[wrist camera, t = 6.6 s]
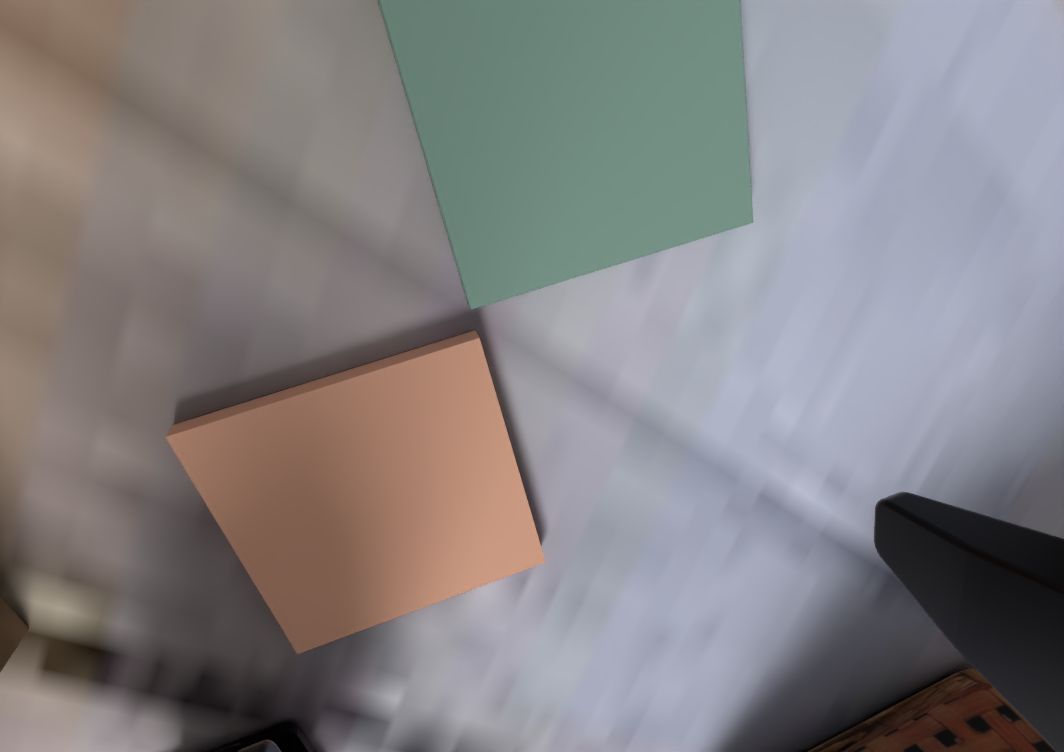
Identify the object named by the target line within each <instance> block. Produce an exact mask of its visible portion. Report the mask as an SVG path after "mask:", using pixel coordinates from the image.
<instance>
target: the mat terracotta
mask: <svg viewBox="0 0 1064 752" xmlns="http://www.w3.org/2000/svg"><path fill="white" fill-rule="evenodd" d="M166 439H167V441H168V442H169V444H170V446H171V447H172V449H173V451H174V452H175V454H176V456H177V457H178V459H179V461H180V462H181V464H182V465H183V467H184V469H185V470H186V472H187V474H188V475H189V477H190V479H191V480H192V482H193V484H194V485H195V487H196V488H197V490H198V492H199V493H200V495H201V497H202V498H203V500H204V502H205V503H206V505H207V507H208V508H209V510H210V512H211V513H212V515H213V516H214V518H215V520H216V521H217V523H218V525H219V526H220V528H221V530H222V531H223V533H224V535H225V536H226V538H227V539H228V541H229V543H230V544H231V546H232V548H233V549H234V551H235V553H236V554H237V556H238V558H239V559H240V561H241V563H242V564H243V566H244V567H245V569H246V571H247V572H248V574H249V576H250V577H251V579H252V581H253V582H254V584H255V586H256V587H257V589H258V590H259V592H260V594H261V595H262V597H263V599H264V600H265V602H266V604H267V605H268V607H269V609H270V610H271V612H272V614H273V615H274V617H275V618H276V620H277V622H278V623H279V625H280V627H281V628H282V630H283V632H284V633H285V635H286V637H287V638H288V640H289V641H290V643H291V645H292V646H293V648H294V650H295V651H296V653H297V654H300V653H303V652H305V651H308V650H311V649H313V648H316V647H319V646H321V645H324V644H327V643H329V642H332V641H335V640H338V639H340V638H343V637H346V636H348V635H351V634H354V633H356V632H359V631H362V630H364V629H367V628H370V627H372V626H375V625H378V624H381V623H383V622H386V621H389V620H391V619H394V618H397V617H399V616H402V615H405V614H407V613H410V612H413V611H416V610H418V609H421V608H424V607H426V606H429V605H432V604H434V603H437V602H440V601H442V600H445V599H448V598H451V597H453V596H456V595H459V594H461V593H464V592H467V591H469V590H472V589H475V588H477V587H480V586H483V585H486V584H488V583H491V582H494V581H496V580H499V579H502V578H504V577H507V576H510V575H512V574H515V573H518V572H520V571H523V570H526V569H529V568H531V567H534V566H537V565H539V564H542V563H545V562H546V561H545V558H544V554H543V551H542V548H541V544H540V541H539V538H538V534H537V531H536V527H535V524H534V521H533V517H532V514H531V510H530V507H529V504H528V500H527V497H526V494H525V490H524V487H523V483H522V480H521V477H520V473H519V470H518V466H517V463H516V460H515V456H514V453H513V449H512V446H511V443H510V439H509V436H508V433H507V429H506V426H505V422H504V419H503V416H502V412H501V409H500V405H499V402H498V399H497V395H496V392H495V388H494V385H493V382H492V378H491V375H490V372H489V368H488V365H487V361H486V358H485V355H484V351H483V348H482V344H481V341H480V338H479V336H478V334H477V332H476V330H474V331H471V332H468V333H464V334H461V335H458V336H455V337H452V338H448V339H445V340H442V341H439V342H436V343H433V344H429V345H426V346H423V347H420V348H417V349H413V350H410V351H407V352H404V353H401V354H397V355H394V356H391V357H388V358H385V359H382V360H378V361H375V362H372V363H369V364H366V365H362V366H359V367H356V368H353V369H350V370H347V371H343V372H340V373H337V374H334V375H331V376H327V377H324V378H321V379H318V380H315V381H311V382H308V383H305V384H302V385H299V386H296V387H292V388H289V389H286V390H283V391H280V392H276V393H273V394H270V395H267V396H264V397H260V398H257V399H254V400H251V401H248V402H245V403H241V404H238V405H235V406H232V407H229V408H225V409H222V410H219V411H216V412H213V413H210V414H206V415H203V416H200V417H197V418H194V419H190V420H187V421H184V422H181V423H178V424H174V425H173V426H172V427H171V429H170V430H169V432H168V434H167V435H166Z"/></svg>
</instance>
